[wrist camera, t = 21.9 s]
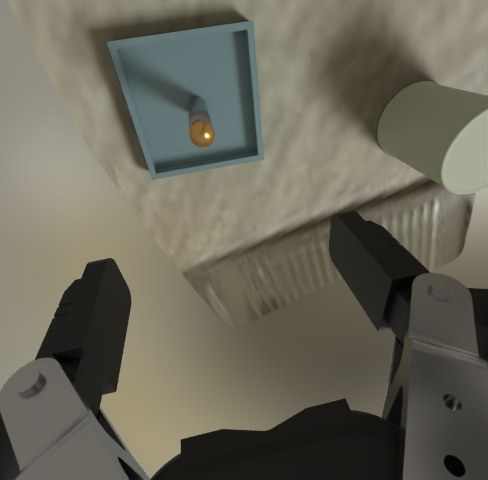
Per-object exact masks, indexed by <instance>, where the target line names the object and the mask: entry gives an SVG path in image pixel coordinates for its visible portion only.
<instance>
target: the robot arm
mask: <svg viewBox="0 0 488 480" xmlns="http://www.w3.org/2000/svg"><path fill="white" fill-rule="evenodd" d="M329 253H330V257H331V259H332V262H333V263H334V265H335V266H336V268H337V269H338V271H339V273H340V274H341V276H342V277H343V279H344V280H345V282H346V283H347V285H348V286H349V287H350V289H351V291H352V292H353V294H354V295H355V297H356V298H357V300H358V301H359V303H360V305H361V306H362V308H363V309H364V311H365V312H366V314H367V315H368V317H369V318H370V320H371V321H372V323H373V324H374V326H375V327H376V329H377V330H378V331H382V330H387V329H391V330H392V331H393V332H394V334H395V337H394V341H393V348H392V356H391V364H390V372H389V380H388V389H387V395H386V399H385V403H384V407H383V413H382V418H381V417H378V416H376V415H373V414H370V413H366V412H361V411H355V410H350V408H349V406H348V404H347V402H346V399H341V400H337V401H333V402H330V403H325V404H322V405H317V406H313V407H310V408H306V409H304V410H303V411H301V412H299V413H297V414H296V415H294V416H292V417H291V418H289V419H287V420H286V421H284V422H282V423H281V424H279V425H277V426H276V427H274V428H272V429H270V430H268V431H251V430H250V431H249V430H229V429H221V430H218V431H213V432H209V433H205V434H201V435H197V436H193V437H189V438H185V439H181V453H180V454H178V455H177V456H175V457H174V458H173V459H171V460H170V461H168V462H167V463H166V464H165V465H164V466H163V467H162V468H161V469H159V471H157V472H156V474H155V475H154V476H153V477H152V478H151V479H149V477H148V476H147V475H146V473H145V472H144V470H143V469H142V468H141V466H140V465H139V464H138V463H137V461H136V460H135V459H134V458H133V456H132V455H131V453H130V452H129V450H128V449H127V447H126V446H125V444H124V443H123V441H122V439H121V438H120V436H119V435H118V433H117V432H116V430H115V429H114V427H113V426H112V424H111V423H110V421H109V419H108V418H107V416H106V415H105V413H104V412H103V410H102V409H101V408H100V403H101V398H102V395H104V394H108V393H112V392H116V390H117V384H118V378H119V372H120V367H121V361H122V355H123V349H124V343H125V337H126V331H127V326H128V320H129V315H130V308H131V294H130V291H129V288H128V286H127V284H126V282H125V280H124V278H123V276H122V274H121V272H120V270H119V268H118V266H117V264H116V262H115V261H114V260H113V259H112V258H108V259H104V260H98V261H94V262H89V263H88V264H87V265H86V268H85V270H84V273H83V275H82V278H81V279H77V280H75V281H74V282H73V283H72V284H71V285H70V286H69V287H68V289H67V290H66V291H65V292H64V294H63V296H62V299H61V301H60V303H59V307H58V308H57V310H56V312H55V315H54V318H53V319H52V322H51V324H50V326H49V329H48V331H47V333H46V336H45V338H44V340H43V342H42V345H41V347H40V349H39V351H38V354H37V356H36V359H35V360H34V361H32V362H30V363H28V364H26V365H25V366H23V367H21V368H20V369H19V370H18V371H16V373H14V374H13V375H12V376H11V377H10V378H9V379H8V381H7V382H6V383H5V385H4V386H3V388H2V390H1V392H0V480H488V289H475V288H466V286H464V285H463V284H462V283H461V282H459V281H457V280H456V279H454V278H452V277H450V276H447V275H443V274H438V273H430V272H429V271H428V270H427V269H426V268H425V267H424V266H423V265H422V264H421V263H420V262H419V261H418V260H417V259H416V258H415V257H414V256H413V255H412V254H411V253H410V252H409V251H407V250H406V249H405V248H404V247H403V246H402V245H400V243H399V242H398V241H397V240H396V239H395V238H393V236H392V235H391V234H390V233H389V232H388V231H387V230H386V229H385V228H384V227H382V226H380V225H378V224H376V223H374V222H372V221H365V220H364V219H363V218H362V217H361V216H360V215H359V214H358V213H357V212H356V211H354V210H352V211H347V212H342V213H337V214H333V215H332V218H331V227H330V240H329Z"/></svg>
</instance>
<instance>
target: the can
mask: <svg viewBox="0 0 488 480" xmlns="http://www.w3.org/2000/svg"><path fill="white" fill-rule="evenodd" d="M377 138H378V143H379V145H380V147H381V149H382V150H383V151H384V152H385V153H386V154H388V155H389V156H392V157H395V158H397V159H399V160H400V161H402V162H404V163H406V164H407V165H409V166H411V167H412V168H414V169H416V170H417V171H419V172H421V173H422V174H424V175H426V176H427V177H429V178H430V179H432V180H434V181H435V182H437V183H438V184H440V185H442V186H443V187H445V188H446V189H447V190H448V191H450V192H452V193H455V194H470V193H474V192H477V191H480V190H482V189H484V188H486V187H488V96H487V95H482V94H477V93H473V92H468V91H464V90H459V89H454V88H450V87H446V86H442V85H439V84H437V83H435V82H431V81H421V82H416V83H414V84H411V85H409V86H407V87H405V88H404V89H403V90H401V91H400V92H399V93H397V94H396V95H395V96H394V97H393V98H392V100H391V101H390V102H389V103H388V105H387V106H386V108H385V109H384V111H383V113H382V115H381V118H380V120H379V124H378V129H377Z"/></svg>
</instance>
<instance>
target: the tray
mask: <svg viewBox="0 0 488 480" xmlns="http://www.w3.org/2000/svg"><path fill="white" fill-rule="evenodd" d="M107 45H108V48H109V51H110V54H111V57H112V60H113V63H114V66H115V69H116V72H117V75H118V78H119V81H120V84H121V87H122V90H123V93H124V96H125V99H126V102H127V105H128V108H129V111H130V114H131V117H132V120H133V123H134V126H135V129H136V132H137V135H138V138H139V141H140V144H141V148H142V151H143V154H144V157H145V160H146V163H147V166H148V169H149V172H150V175H151V178H152V180H153V179H158V178H164V177H169V176H175V175H180V174H186V173H191V172H197V171H202V170H208V169H213V168H219V167H224V166H230V165H235V164H241V163H246V162H252V161H257V160H263V159H264V156H263V143H262V130H261V117H260V103H259V90H258V77H257V64H256V51H255V38H254V25H253V21H245V22H238V23H231V24H225V25H218V26H211V27H204V28H197V29H190V30H183V31H176V32H169V33H163V34H156V35H149V36H142V37H135V38H128V39H121V40H114V41H108V42H107ZM195 96H198V97H201V98H203V99H204V100H205V102H206V105H207V108H208V112H209V115H210V119H211V122H212V126H213V129H214V133H215V138H214V141H213V143H212V144H211V145H210V146H208V147H204V148H201V147H197V146H196V145H194V144H193V143H192V141H191V139H190V133H189V117H188V102H189V100H190V99H191V98H192V97H195Z"/></svg>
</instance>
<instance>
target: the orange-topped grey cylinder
mask: <svg viewBox="0 0 488 480" xmlns="http://www.w3.org/2000/svg"><path fill="white" fill-rule="evenodd" d="M188 117H189V133H190V139H191V141H192V143H193V144H194V145H196V146H197V147H201V148H204V147H208V146H210V145H211V144H212V143H213V141H214V138H215V133H214V129H213V126H212V122H211V119H210V115H209V112H208V108H207V105H206V102H205V100H204V99H203V98H201V97H198V96H195V97H192V98H191V99H190V100H189V102H188Z"/></svg>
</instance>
